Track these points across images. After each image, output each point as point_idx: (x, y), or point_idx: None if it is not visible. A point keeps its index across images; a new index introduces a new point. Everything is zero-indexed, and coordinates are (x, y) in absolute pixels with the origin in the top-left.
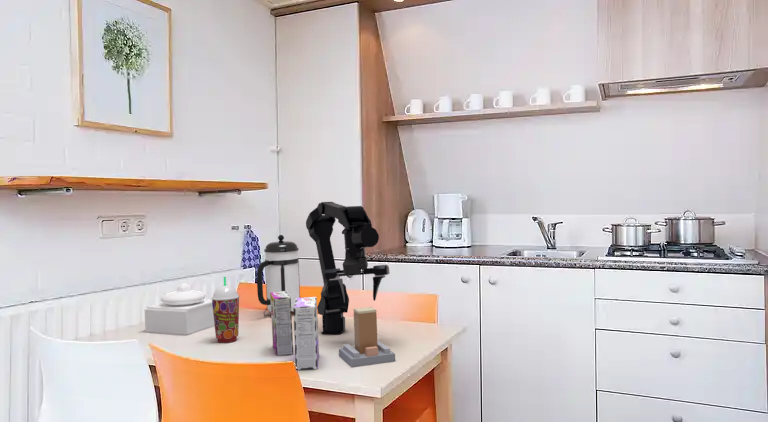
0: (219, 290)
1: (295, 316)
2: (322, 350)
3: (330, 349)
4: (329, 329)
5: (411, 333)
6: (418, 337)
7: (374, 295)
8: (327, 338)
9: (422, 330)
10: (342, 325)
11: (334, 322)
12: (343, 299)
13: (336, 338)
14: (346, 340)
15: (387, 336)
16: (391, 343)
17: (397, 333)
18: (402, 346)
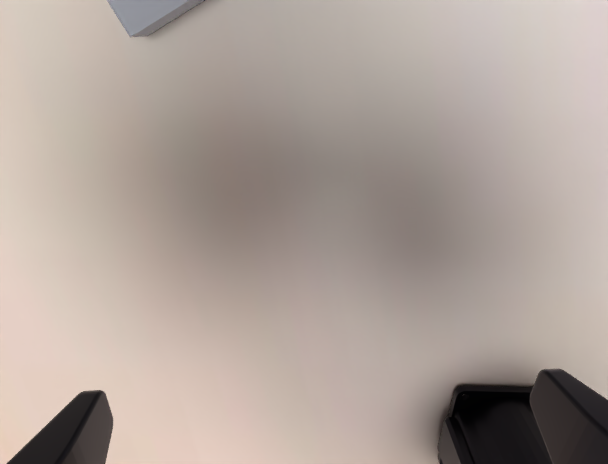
0: None
1: None
2: (555, 36)
3: (499, 64)
4: (527, 410)
5: None
6: (10, 335)
7: (41, 450)
8: (525, 316)
9: None
10: (459, 441)
11: (514, 446)
12: (572, 396)
13: (473, 316)
14: (411, 277)
15: (190, 353)
16: (123, 214)
17: (152, 404)
18: (29, 144)
